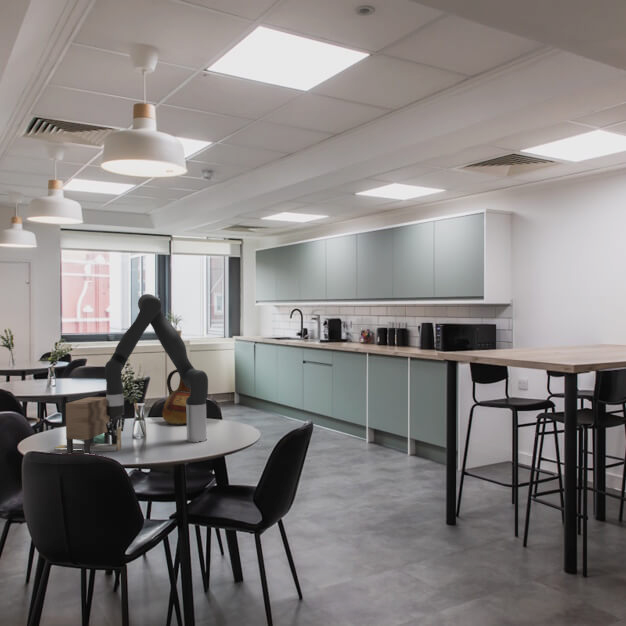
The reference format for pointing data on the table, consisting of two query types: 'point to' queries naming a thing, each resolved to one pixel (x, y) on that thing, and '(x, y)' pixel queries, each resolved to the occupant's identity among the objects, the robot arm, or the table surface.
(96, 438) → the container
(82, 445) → the plank with tan block
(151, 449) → the table surface
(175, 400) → the ceramic pitcher
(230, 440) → the table surface
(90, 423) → the walnut cabinet
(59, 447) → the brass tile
